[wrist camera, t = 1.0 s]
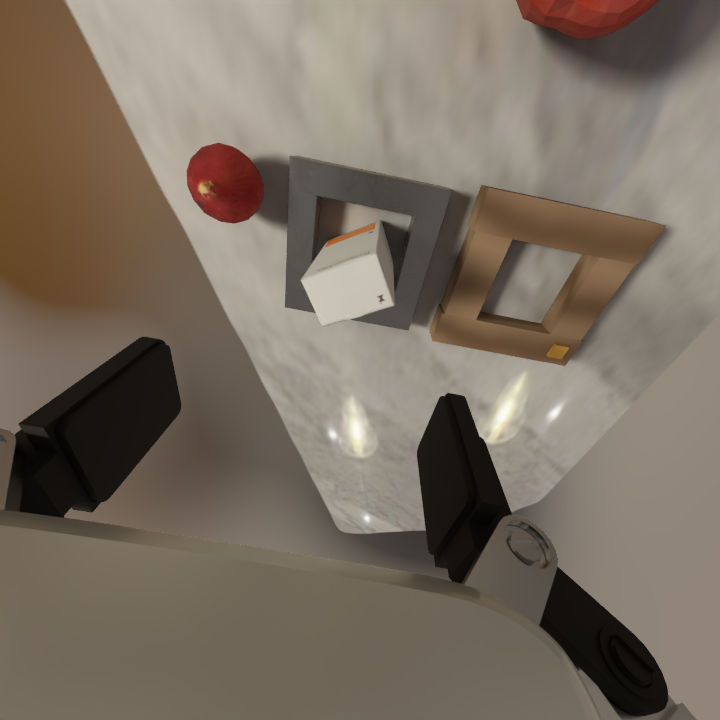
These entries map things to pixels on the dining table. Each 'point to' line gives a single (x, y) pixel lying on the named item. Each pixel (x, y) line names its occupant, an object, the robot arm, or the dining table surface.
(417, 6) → the dining table surface
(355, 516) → the dining table surface
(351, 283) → the skincare box
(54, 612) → the robot arm
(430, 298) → the dining table surface
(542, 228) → the frame
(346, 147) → the dining table surface
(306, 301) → the gray square frame
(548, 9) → the vegetable
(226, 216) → the onion
